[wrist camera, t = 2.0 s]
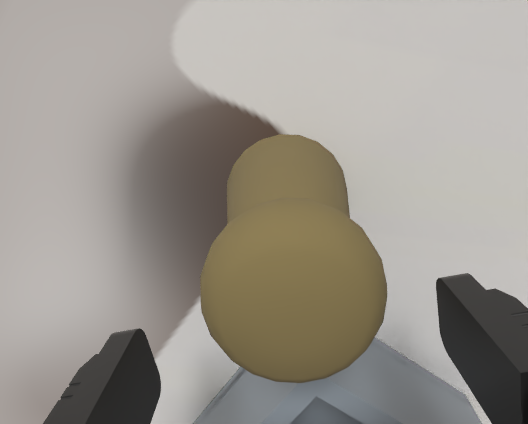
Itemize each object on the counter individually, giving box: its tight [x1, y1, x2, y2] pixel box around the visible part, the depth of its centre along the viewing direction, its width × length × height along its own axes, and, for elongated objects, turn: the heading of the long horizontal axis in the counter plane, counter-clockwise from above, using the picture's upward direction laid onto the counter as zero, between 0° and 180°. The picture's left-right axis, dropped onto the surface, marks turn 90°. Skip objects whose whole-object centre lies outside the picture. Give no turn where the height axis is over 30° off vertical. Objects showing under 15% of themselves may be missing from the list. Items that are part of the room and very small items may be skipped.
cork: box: [200, 134, 387, 383], centre depth 15 cm, size 6×6×11 cm
